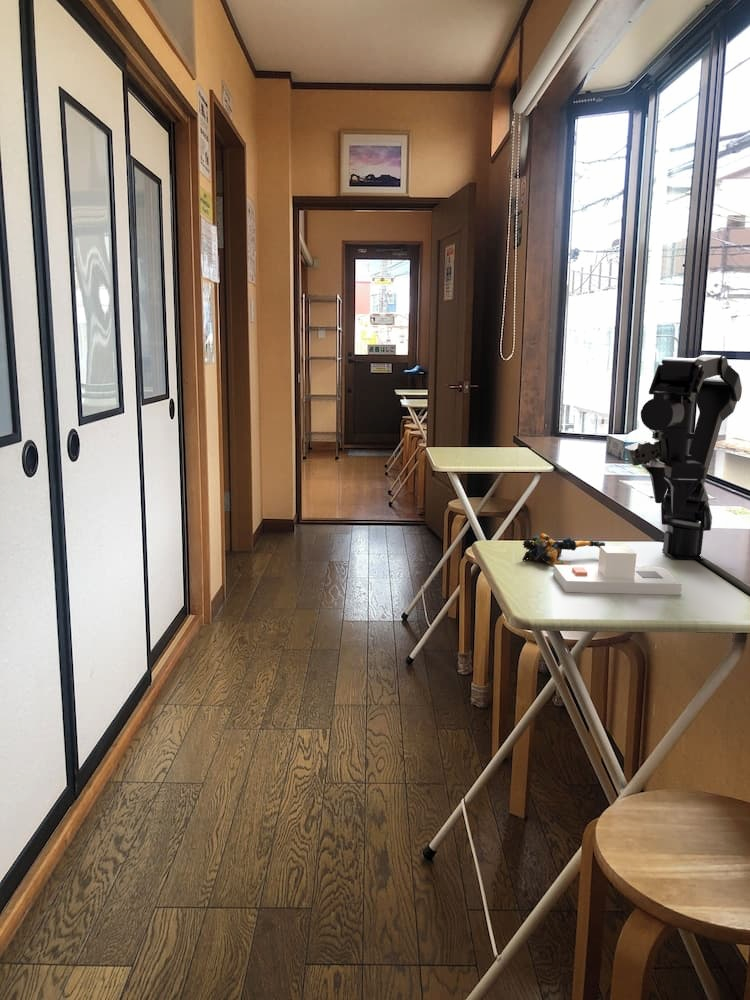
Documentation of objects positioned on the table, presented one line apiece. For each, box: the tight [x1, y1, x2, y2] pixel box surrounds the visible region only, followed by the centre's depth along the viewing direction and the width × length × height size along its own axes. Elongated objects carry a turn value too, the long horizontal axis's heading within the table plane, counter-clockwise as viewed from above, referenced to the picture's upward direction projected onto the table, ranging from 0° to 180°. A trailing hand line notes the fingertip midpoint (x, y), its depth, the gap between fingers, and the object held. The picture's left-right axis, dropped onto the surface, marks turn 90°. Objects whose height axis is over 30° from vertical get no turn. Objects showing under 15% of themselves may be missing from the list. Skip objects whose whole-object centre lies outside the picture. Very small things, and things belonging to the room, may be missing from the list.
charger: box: [597, 545, 637, 578], centre depth 146 cm, size 5×5×6 cm
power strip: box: [552, 564, 682, 596], centre depth 146 cm, size 20×10×3 cm, turn 90°
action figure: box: [522, 532, 606, 567], centre depth 161 cm, size 6×15×15 cm
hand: (666, 508), depth 155 cm, fingers open, 9 cm apart
